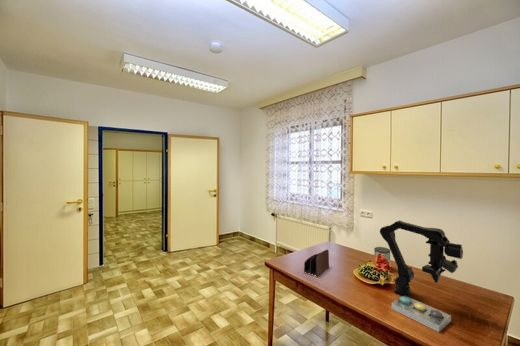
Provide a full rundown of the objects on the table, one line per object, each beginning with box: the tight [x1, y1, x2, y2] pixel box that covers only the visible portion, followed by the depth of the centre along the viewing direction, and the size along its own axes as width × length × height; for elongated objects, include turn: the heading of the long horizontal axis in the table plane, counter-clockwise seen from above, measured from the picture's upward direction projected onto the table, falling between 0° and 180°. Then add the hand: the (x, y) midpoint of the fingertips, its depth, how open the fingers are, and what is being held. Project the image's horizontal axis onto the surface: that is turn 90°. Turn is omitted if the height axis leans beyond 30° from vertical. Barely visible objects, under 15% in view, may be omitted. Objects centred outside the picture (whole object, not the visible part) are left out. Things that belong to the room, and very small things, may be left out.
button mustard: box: [414, 303, 426, 313], centre depth 119 cm, size 5×5×4 cm
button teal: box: [399, 296, 410, 306], centre depth 125 cm, size 5×5×4 cm
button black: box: [430, 310, 442, 321], centre depth 113 cm, size 5×5×4 cm
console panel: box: [391, 295, 452, 333], centre depth 119 cm, size 21×13×3 cm, turn 33°
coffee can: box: [374, 246, 391, 265], centre depth 171 cm, size 10×10×14 cm
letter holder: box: [303, 249, 330, 277], centre depth 170 cm, size 10×20×14 cm, turn 141°
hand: (436, 282), depth 126 cm, fingers closed
